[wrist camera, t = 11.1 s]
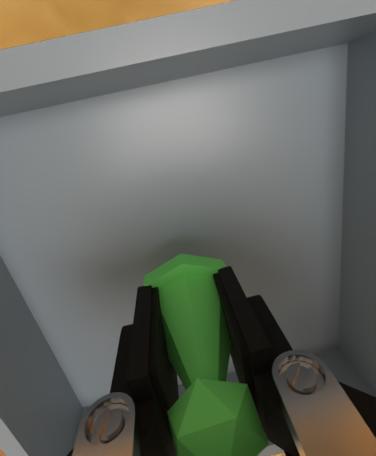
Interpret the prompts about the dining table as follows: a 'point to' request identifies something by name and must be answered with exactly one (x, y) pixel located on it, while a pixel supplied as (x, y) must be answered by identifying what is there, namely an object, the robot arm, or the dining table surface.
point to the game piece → (203, 364)
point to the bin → (183, 191)
